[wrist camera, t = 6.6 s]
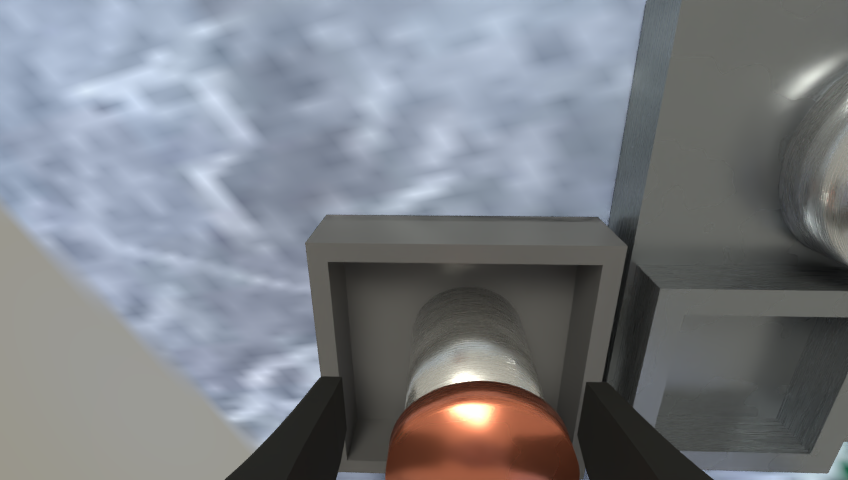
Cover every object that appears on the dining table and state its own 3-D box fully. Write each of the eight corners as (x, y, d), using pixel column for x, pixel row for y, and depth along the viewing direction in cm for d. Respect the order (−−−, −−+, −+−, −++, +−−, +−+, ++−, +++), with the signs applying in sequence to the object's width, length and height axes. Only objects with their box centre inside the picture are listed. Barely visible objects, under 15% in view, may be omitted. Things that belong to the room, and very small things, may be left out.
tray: (564, 425, 18) (583, 479, 16) (345, 420, 18) (332, 471, 16) (597, 217, 14) (627, 246, 12) (326, 214, 15) (305, 242, 12)
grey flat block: (835, 401, 17) (984, 527, 12) (579, 395, 17) (630, 516, 13) (1021, -3, 12) (1403, -48, 7) (646, 0, 12) (775, -40, 7)
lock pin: (525, 385, 17) (568, 546, 11) (406, 383, 17) (389, 541, 11) (535, 279, 15) (592, 407, 9) (402, 278, 15) (380, 403, 9)
